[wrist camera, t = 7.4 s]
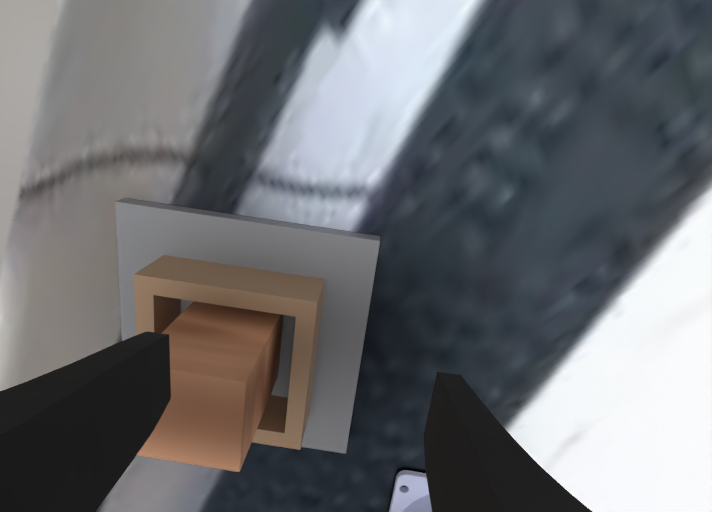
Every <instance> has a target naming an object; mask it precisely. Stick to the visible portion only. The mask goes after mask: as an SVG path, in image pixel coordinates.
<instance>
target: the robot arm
mask: <svg viewBox="0 0 712 512" xmlns="http://www.w3.org/2000/svg"><path fill="white" fill-rule="evenodd" d="M170 399H171V382H170V346H169V334H162V333H155V332H148V331H147V332H144V333H141V334H138V335H136V336H133V337H131V338H128V339H126V340H124V341H121V342H119V343H117V344H114V345H112V346H110V347H108V348H106V349H103V350H101V351H99V352H96V353H94V354H92V355H90V356H87V357H85V358H83V359H81V360H78V361H76V362H74V363H72V364H69V365H67V366H64V367H62V368H59V369H57V370H54V371H52V372H49V373H47V374H45V375H42V376H40V377H37V378H35V379H32V380H30V381H27V382H25V383H22V384H19V385H17V386H14V387H11V388H9V389H6V390H3V391H0V512H95V511H96V510H97V508H98V507H99V506H100V504H101V503H102V502H103V500H104V499H105V497H106V496H107V495H108V493H109V492H110V491H111V489H112V488H113V486H114V485H115V484H116V482H117V481H118V480H119V478H120V477H121V476H122V474H123V473H124V471H125V470H126V469H127V467H128V466H129V465H130V463H131V462H132V460H133V459H134V458H135V456H136V455H137V454H138V452H139V451H140V449H141V448H142V447H143V445H144V444H145V442H146V441H147V440H148V438H149V437H150V435H151V434H152V432H153V431H154V429H155V427H156V425H157V424H158V422H159V420H160V418H161V416H162V415H163V413H164V411H165V409H166V407H167V405H168V403H169V401H170ZM424 447H425V468H426V473H421V472H415V471H409V470H403V471H400V472H399V473H398V474H397V476H396V480H395V485H394V490H393V494H392V499H391V503H390V508H389V512H592V511H591V510H589V509H588V508H587V507H586V506H584V505H583V504H582V503H581V502H580V501H578V500H577V499H576V498H575V497H574V496H572V495H571V494H570V493H569V492H568V491H567V490H566V489H564V488H563V487H562V486H561V485H560V484H559V483H558V482H557V481H556V480H555V479H553V478H552V477H551V476H550V475H549V474H548V473H547V472H546V471H545V470H544V469H543V468H542V467H540V466H539V465H538V464H537V463H536V462H535V461H534V460H533V459H532V458H531V457H530V456H529V454H528V453H527V452H526V451H525V450H524V449H523V448H522V447H521V446H520V445H519V444H518V443H517V442H516V441H515V440H514V439H513V438H512V436H511V435H510V434H509V433H508V432H507V431H506V430H505V429H504V428H503V426H502V425H501V424H500V423H499V422H498V421H497V419H496V418H495V417H494V416H493V415H492V413H491V412H490V411H489V410H488V409H487V407H486V406H485V405H484V404H483V402H482V401H481V400H480V399H479V398H478V396H477V395H476V394H475V392H474V391H473V390H472V389H471V387H470V386H469V385H468V384H467V382H466V381H465V380H464V379H463V378H462V376H461V375H456V374H449V373H441V372H437V376H436V381H435V386H434V390H433V395H432V400H431V404H430V409H429V414H428V418H427V423H426V428H425V432H424ZM402 486H406V487H402Z"/></svg>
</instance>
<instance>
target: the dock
mask: <svg viewBox="0 0 712 512" xmlns="http://www.w3.org/2000/svg"><path fill="white" fill-rule="evenodd" d="M115 213H116V233H117V253H118V272H119V292H120V312H121V332H122V341H124V340H126V339H128V338H131V337H133V336H136V335H138V334H141V333H144V332H147V331H148V332H155V333H162V332H163V331H164V330H165V329H166V328H167V327H168V326H169V325H170V324H171V323H172V322H173V321H174V320H175V319H176V318H177V317H178V316H179V315H180V314H181V313H182V312H183V311H184V310H185V309H186V308H187V307H188V306H189V305H190V304H191V303H192V302H193V301H196V302H203V303H209V304H216V305H222V306H229V307H235V308H242V309H248V310H255V311H262V312H268V313H275V314H281V315H284V319H283V329H282V339H281V349H280V360H279V370H278V378H277V380H276V383H275V385H274V388H273V390H272V393H271V395H270V398H269V400H268V403H267V405H266V408H265V410H264V413H263V415H262V418H261V420H260V423H259V425H258V428H257V430H256V433H255V435H254V438H253V440H252V442H253V443H260V444H266V445H272V446H279V447H285V448H291V449H298V450H300V449H301V447H306V448H313V449H319V450H325V451H332V452H338V453H344V454H346V449H347V443H348V437H349V431H350V424H351V418H352V412H353V406H354V400H355V393H356V387H357V381H358V375H359V369H360V362H361V356H362V350H363V344H364V338H365V331H366V325H367V319H368V313H369V307H370V300H371V294H372V288H373V282H374V276H375V269H376V263H377V257H378V251H379V245H380V236H376V235H369V234H363V233H356V232H349V231H342V230H336V229H329V228H322V227H315V226H309V225H302V224H295V223H289V222H282V221H275V220H268V219H262V218H255V217H248V216H241V215H235V214H228V213H221V212H215V211H208V210H201V209H194V208H188V207H181V206H174V205H167V204H161V203H154V202H147V201H141V200H134V199H127V198H124V199H121V200H118V201H115Z"/></svg>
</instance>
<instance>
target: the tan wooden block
mask: <svg viewBox="0 0 712 512" xmlns="http://www.w3.org/2000/svg"><path fill="white" fill-rule="evenodd" d="M283 319H284V315H281V314H275V313H268V312H262V311H255V310H248V309H242V308H235V307H229V306H222V305H216V304H209V303H203V302H196V301H193V302H192V303H191V304H190V305H189V306H188V307H187V308H186V309H185V310H184V311H183V312H182V313H181V314H180V315H179V316H178V317H177V318H176V319H175V320H174V321H173V322H172V323H171V324H170V325H169V326H168V327H167V328H166V329H165V330H164V331H163V332H162V334H169V346H170V382H171V399H170V401H169V403H168V405H167V407H166V409H165V411H164V413H163V415H162V416H161V418H160V420H159V422H158V424H157V425H156V427H155V429H154V431H153V432H152V434H151V435H150V437H149V438H148V440H147V441H146V442H145V444H144V445H143V447H142V448H141V449H140V451H139V452H138V454H137V455H139V456H145V457H151V458H157V459H163V460H169V461H175V462H181V463H188V464H194V465H200V466H206V467H212V468H218V469H224V470H230V471H236V472H240V470H241V467H242V465H243V462H244V460H245V457H246V455H247V452H248V450H249V447H250V445H251V442H252V440H253V438H254V435H255V433H256V430H257V428H258V425H259V423H260V420H261V418H262V415H263V413H264V410H265V408H266V405H267V403H268V400H269V398H270V395H271V393H272V390H273V388H274V385H275V383H276V380H277V378H278V370H279V360H280V349H281V339H282V329H283Z"/></svg>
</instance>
